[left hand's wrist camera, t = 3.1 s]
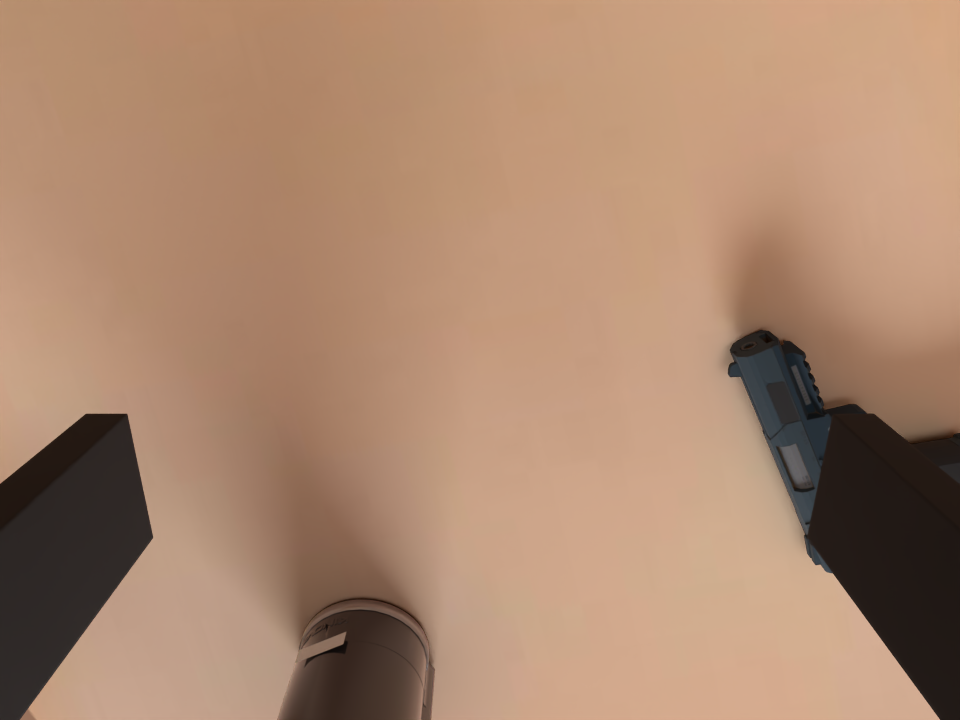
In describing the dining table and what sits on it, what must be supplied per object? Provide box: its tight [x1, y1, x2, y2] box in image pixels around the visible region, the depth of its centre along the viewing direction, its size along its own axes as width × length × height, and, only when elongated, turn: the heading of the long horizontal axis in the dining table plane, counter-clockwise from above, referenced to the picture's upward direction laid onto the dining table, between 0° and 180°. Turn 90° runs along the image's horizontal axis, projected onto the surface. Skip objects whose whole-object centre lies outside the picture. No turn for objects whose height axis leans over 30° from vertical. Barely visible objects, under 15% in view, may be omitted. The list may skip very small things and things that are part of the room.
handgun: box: [728, 330, 960, 573], centre depth 42 cm, size 3×17×12 cm
